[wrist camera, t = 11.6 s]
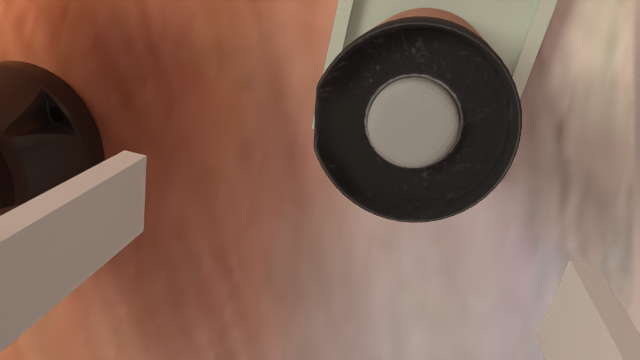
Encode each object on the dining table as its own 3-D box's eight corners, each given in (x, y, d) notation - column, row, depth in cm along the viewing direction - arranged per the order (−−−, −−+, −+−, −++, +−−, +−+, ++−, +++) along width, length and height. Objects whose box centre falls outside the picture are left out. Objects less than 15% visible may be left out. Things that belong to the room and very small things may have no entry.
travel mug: (502, 66, 35) (574, 146, 17) (415, 132, 38) (395, 262, 20) (434, -20, 34) (432, -37, 16) (350, 54, 37) (266, 113, 19)
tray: (315, 123, 40) (311, 128, 38) (356, -66, 34) (353, -69, 33) (488, 170, 38) (490, 177, 37) (560, -22, 33) (566, -22, 31)
